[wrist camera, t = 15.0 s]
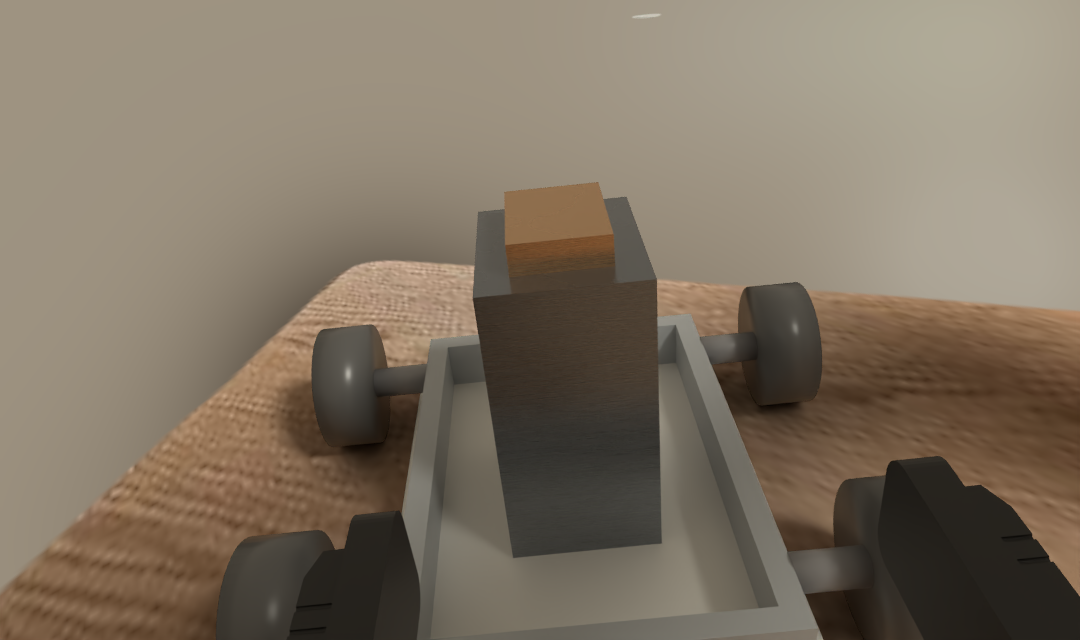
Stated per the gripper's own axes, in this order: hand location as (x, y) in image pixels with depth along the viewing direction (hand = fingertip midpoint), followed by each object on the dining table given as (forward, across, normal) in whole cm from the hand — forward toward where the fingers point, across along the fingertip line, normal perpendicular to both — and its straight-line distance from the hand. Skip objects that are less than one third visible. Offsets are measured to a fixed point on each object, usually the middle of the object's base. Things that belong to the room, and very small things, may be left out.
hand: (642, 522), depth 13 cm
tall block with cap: (+12, +1, +11) cm, 16 cm away
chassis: (+12, +1, +12) cm, 17 cm away
